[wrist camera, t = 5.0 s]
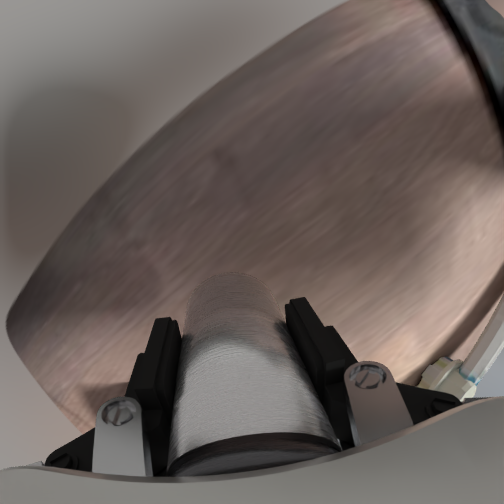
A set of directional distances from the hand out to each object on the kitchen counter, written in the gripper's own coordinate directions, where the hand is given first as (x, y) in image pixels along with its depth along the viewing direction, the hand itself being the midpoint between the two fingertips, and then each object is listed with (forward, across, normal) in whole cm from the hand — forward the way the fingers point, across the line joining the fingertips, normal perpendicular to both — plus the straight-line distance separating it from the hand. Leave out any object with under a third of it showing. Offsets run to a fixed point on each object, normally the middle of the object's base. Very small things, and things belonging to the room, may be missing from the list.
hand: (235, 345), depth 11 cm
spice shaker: (+2, 0, 0) cm, 2 cm away
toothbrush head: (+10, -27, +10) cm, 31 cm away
